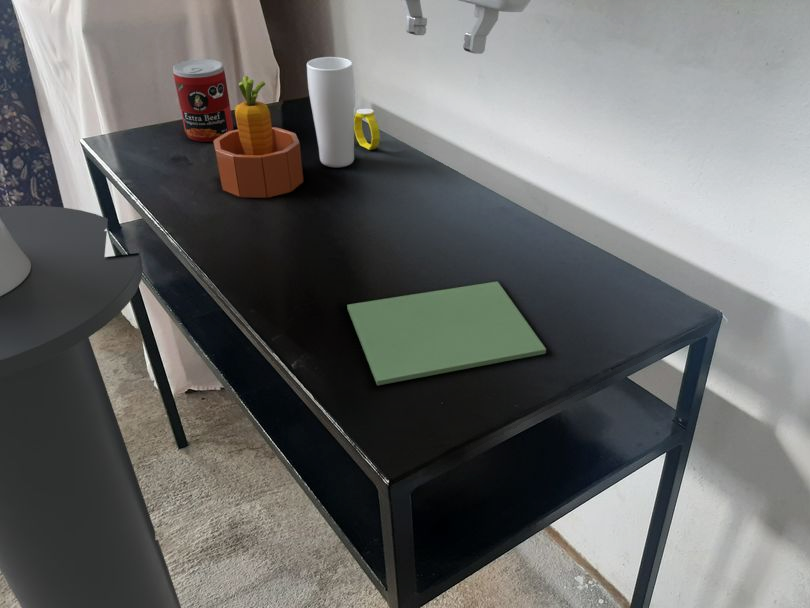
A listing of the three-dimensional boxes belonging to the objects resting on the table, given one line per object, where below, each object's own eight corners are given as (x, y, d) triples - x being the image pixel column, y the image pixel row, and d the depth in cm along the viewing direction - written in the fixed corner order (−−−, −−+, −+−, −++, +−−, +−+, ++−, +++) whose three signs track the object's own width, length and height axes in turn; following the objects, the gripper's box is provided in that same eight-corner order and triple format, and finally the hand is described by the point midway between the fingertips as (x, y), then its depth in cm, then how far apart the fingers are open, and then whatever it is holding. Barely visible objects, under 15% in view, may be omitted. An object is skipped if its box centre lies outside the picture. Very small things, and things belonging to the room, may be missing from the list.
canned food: (181, 142, 118) (166, 73, 111) (192, 125, 124) (179, 58, 118) (229, 143, 119) (218, 73, 112) (237, 125, 125) (227, 59, 118)
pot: (224, 202, 101) (217, 161, 98) (218, 168, 110) (211, 129, 107) (308, 193, 105) (304, 153, 101) (295, 161, 114) (291, 123, 110)
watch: (384, 151, 118) (383, 115, 114) (369, 155, 117) (367, 118, 113) (365, 139, 122) (363, 104, 118) (350, 143, 120) (348, 107, 117)
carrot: (250, 173, 109) (234, 70, 100) (282, 174, 109) (270, 72, 100) (240, 186, 105) (223, 81, 96) (274, 188, 105) (260, 83, 96)
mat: (377, 385, 71) (376, 381, 70) (347, 309, 81) (347, 304, 81) (545, 353, 76) (546, 349, 75) (497, 285, 86) (497, 281, 86)
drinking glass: (328, 151, 117) (320, 54, 108) (366, 158, 116) (361, 60, 107) (307, 166, 112) (297, 66, 103) (347, 173, 110) (340, 72, 101)
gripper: (370, -119, 76) (362, 24, 83) (511, -101, 64) (488, 64, 71) (416, -111, 80) (405, 24, 87) (557, -92, 68) (530, 63, 75)
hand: (443, 43), depth 79 cm, fingers open, 8 cm apart
